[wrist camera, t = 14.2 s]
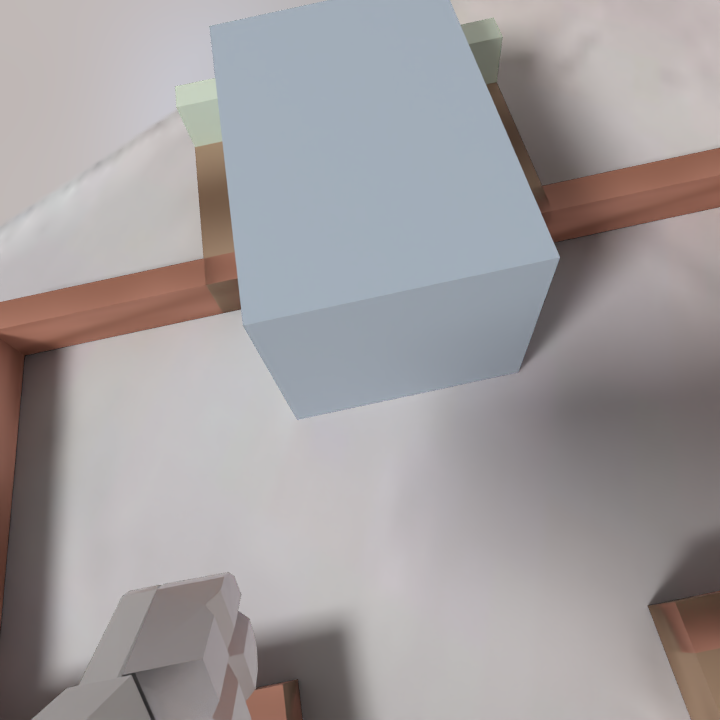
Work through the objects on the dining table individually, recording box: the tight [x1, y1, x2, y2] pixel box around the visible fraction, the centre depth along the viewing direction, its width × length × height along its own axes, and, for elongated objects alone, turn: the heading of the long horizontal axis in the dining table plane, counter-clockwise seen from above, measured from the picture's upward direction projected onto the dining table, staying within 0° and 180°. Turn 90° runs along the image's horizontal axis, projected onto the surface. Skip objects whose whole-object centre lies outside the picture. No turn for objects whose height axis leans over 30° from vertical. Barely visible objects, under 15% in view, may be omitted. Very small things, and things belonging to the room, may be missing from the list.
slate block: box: [210, 0, 560, 420], centre depth 20 cm, size 12×8×7 cm, turn 11°
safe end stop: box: [175, 18, 503, 147], centre depth 24 cm, size 1×13×4 cm, turn 100°
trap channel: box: [0, 82, 720, 720], centre depth 17 cm, size 32×31×2 cm
